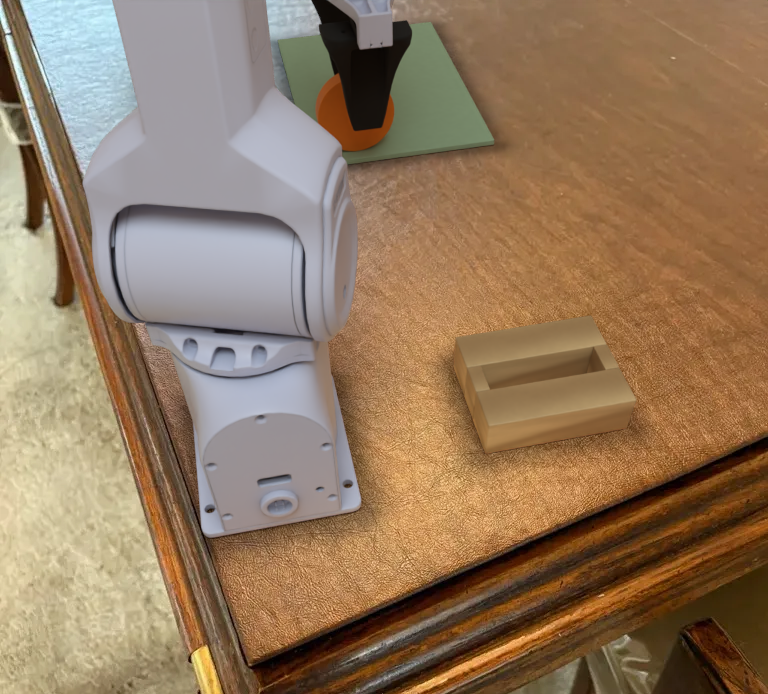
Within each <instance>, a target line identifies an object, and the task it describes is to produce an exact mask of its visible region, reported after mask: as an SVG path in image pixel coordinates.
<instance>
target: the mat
mask: <svg viewBox="0 0 768 694" xmlns="http://www.w3.org/2000/svg"><path fill="white" fill-rule="evenodd" d="M409 25H410V27H411V29H412V39H411V43H410V46H409V47H408V49H407V50H406V52H405V54H404V55H403V57H402V59H401V61H400V63H399V66H398V68H397V71H396V73H395V76H394V79H393V83H392V87H391V91H390V95H391V97H392V100H393V103H394V118H393V122H392V125H391V127H390V129H389V131H388V133H387V134H386V135H385V136H384V138H383V139H382V140H381V141H379V142H378V143H377V144H375V145H374V146H372V147H370V148H367V149H364V150H360V151H346V150H342V157H343V158H344V159H345V161H346V162H347V165H354V164H355V165H356V164H360V163H369V162H375V161H383V160H390V159H391V160H392V159H399V158H406V157H414V156H420V155H428V154H435V153H443V152H449V151H450V152H451V151H458V150H465V149H473V148H478V147H487V146H494V145H495V139H494V137H493V134H492V132H491V131H490V129H489V128H488V125H487V123H486V122H485V120H484V118H483V116H482V114H481V112H480V111H479V109H478V106H477V105H476V103H475V101H474V99H473V98H472V95H471V93H470V91H469V90H468V88H467V86H466V85H465V83H464V81H463V78H462V77H461V75H460V73H459V72H458V69H457V68H456V66H455V64H454V62H453V60H452V58H451V57H450V55H449V53H448V52H447V50H446V47H445V45H444V43H443V42H442V39H441V38H440V36H439V34H438V33H437V30H436V29H435V27H434V25H433V23H432V22H431V21H426V22H418V23H409ZM277 45H278V48H279V53H280V56H281V60H282V63H283V67H284V71H285V75H286V79H287V82H288V83H287V84H288V87H289V90H290V93H291V98H292V101H293V104H294V105H296V106H297V107H298V108H299V109H301V110H302V111H303V112H304V113H306V114H307V115H308V116H309V117H311V118H312V119H313V120H314V121H316V122H317V123H318V121H317V118H316V110H315V108H316V101H317V97H318V94H319V92H320V90H321V89H322V87H323V86H324V84H325V83H326V82H327V81H328V80H329V79H330V78H332V77H333V76H335V75H334V72H333V69H332V65H331V61H330V57H329V53H328V51H327V49H326V47H325V45H324V43H323V41H322V38H321V35H320V34H315V35H306V36H299V37H298V36H297V37H288V38H281V39H277Z"/></svg>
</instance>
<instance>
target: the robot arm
mask: <svg viewBox="0 0 768 694" xmlns="http://www.w3.org/2000/svg"><path fill="white" fill-rule="evenodd" d="M111 1H112V6H113V10H114V13H115V18H116V22H117V26H118V30H119V34H120V38H121V43H122V47H123V50H124V55H125V59H126V63H127V67H128V72H129V75H130V79H131V83H132V87H133V91H134V96H135V99H136V104H137V107H135V108H133V110H131V112H129V113H128V114H127V115H126V116H125V117H124V118H122V119H121V120H120V121H119V122H118V123H117V124H116V125H115V126H114V127H112V128H111V130H110V131H108V133H107V134H106V135H105V136H104V137H102V139H101V140H100V141H99V144H98V145H97V147H96V148H95V149H94V151H93V153H92V156H91V157H90V160H89V163H88V165H87V168H86V170H85V171H86V172H85V173H84V174H85V175H84V177H83V179H82V187H83V190H84V195H85V198H86V202H87V207H88V212H89V218H90V225H91V233H92V234H91V252H92V253H91V255H92V264H93V268H94V275H95V278H96V282H97V285H98V288H99V290H100V292H101V294H102V296H103V297H104V299H105V300H106V302H107V304H108V306H109V307H110V309H111V311H112V312H113V313H114V315H115V316H117V318H118V319H120V320H122V321H124V322H125V323H130V324H144V325H145V328H146V331H147V335H148V338H149V340H150V343H151V345H152V346H155V347H161V348H163V349H166V350H168V351H169V353H170V356H171V359H172V362H173V365H174V369H175V371H176V374H177V378H178V380H179V383H180V387H181V389H182V392H183V395H184V399H185V402H186V405H187V408H188V411H189V414H190V417H191V421H192V428H193V440H194V441H193V442H194V452H195V453H194V454H195V465H196V479H197V490H198V502H199V515H200V527H201V531H202V533H203V535H204V536H205V537H207V538H209V539H210V538H218V537H223V536H229V535H234V534H235V535H236V534H241V533H247V532H252V531H256V530H262V529H266V528H272V527H279V526H282V525H289V524H294V523H299V522H305V521H310V520H316V519H320V518H326V517H332V516H338V515H342V514H348V513H354V512H356V511H358V510H359V509H360V508H361V507H362V496H361V491H360V488H359V484H358V479H357V475H356V470H355V466H354V461H353V457H352V453H351V449H350V444H349V441H348V436H347V432H346V427H345V423H344V419H343V415H342V410H341V406H340V401H339V398H338V394H337V389H336V388H337V387H336V384H335V379H334V376H333V375H332V367H331V358H330V357H331V356H330V347H329V342H331V341H332V340H333V339H335V337H336V336H337V335H338V334H339V333H340V332H341V331H342V330H343V329H345V327H346V325H347V323H348V321H349V318H350V314H351V310H352V306H353V300H354V296H355V289H356V288H355V287H356V282H357V271H358V255H359V229H358V227H359V225H358V218H357V210H356V207H355V204H354V202H353V201H352V198H351V190H350V182H349V172H348V171H349V169H348V164H347V162H346V161H345V159H344V158H343V157H342V146H341V144H340V143H339V141H338V140H337V139H336V138H335V137H333V136H332V135H331V134H330V133H329V132H328V131H326V130H325V129H324V128H323V127H322V126H321V125H319V124H318V123H317V122H316V121H314V120H313V119H312V118H311V117H309V116H308V115H307V114H306V113H304V112H303V111H302V110H301V109H299V108H298V107H297V106H296V105H294V102H292V101H291V100H290V99H289V98H287V96H286V95H284V94H283V92H281V91H280V90H279V89H278V88H277V86H276V80H275V70H274V62H273V51H272V43H271V33H270V25H269V17H268V15H269V14H268V7H267V0H111ZM310 1H311V3H312V5H313V7H314V9H315V10H316V13H317V16H318V18H319V22H320V24H318V32H319V35H321V38H322V41H323V43H324V45H325V47H326V49H327V51H328V53H329V57H330V61H331V65H332V69H333V72H334V75H336V74H338V73H339V76H340V80H341V84H342V89H343V94H344V99H345V104H346V108H347V112H348V116H349V119H350V122H351V125H352V127H353V130H354V131H361V130H369V129H377V128H381V127H382V126H383V123H384V119H385V115H386V111H387V106H388V101H389V96H390V91H391V87H392V83H393V79H394V76H395V73H396V71H397V68H398V66H399V63H400V61H401V59H402V57H403V55H404V54H405V52H406V50H407V49H408V47H409V46H410V43H411V39H412V29H411V27H410V25H409V24H410V23H409V21H408V20H407V19H406V20H405V19H404V20H396V21H393V11H392V7H393V5H394V0H310ZM346 485H350V487H345V486H346ZM209 510H213V511H212V512H208V511H209Z"/></svg>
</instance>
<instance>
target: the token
mask: <svg viewBox="0 0 768 694" xmlns="http://www.w3.org/2000/svg"><path fill="white" fill-rule="evenodd" d="M315 110H316V118H317V121H318V124H319V125H321V126H322V127H323V128H324V129H325V130H326V131H328V132H329V133H330V134H331V135H332V136H333V137H335V138H336V139H337V140H338V141H339V143H340V144H341V146H342V150H346V151H360V150H364V149H367V148H370V147H372V146H374V145H375V144H377V143H378V142H379V141H381V140H382V139H383V138H384V136H385V135H386V134H387V133H388V131H389V129H390V127H391V125H392V122H393V118H394V103H393V100H392V97H391V95H390V96H389V101H388V106H387V111H386V115H385V119H384V123H383V126H382V127H381V128H377V129H369V130H361V131H354V130H353V127H352V125H351V122H350V119H349V116H348V112H347V108H346V104H345V99H344V94H343V89H342V84H341V80H340V76H339V73H338V74H336V75H335V76H333V77H332V78H330V79H329V80H328V81H327V82H326V83H325V84H324V86H323V87H322V89H321V90H320V92H319V94H318V97H317V101H316V108H315Z"/></svg>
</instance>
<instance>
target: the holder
mask: <svg viewBox="0 0 768 694" xmlns="http://www.w3.org/2000/svg"><path fill="white" fill-rule="evenodd" d="M454 339H455V340H454V355H453V366H452V367H453V370H454V372H455V375H456V378H457V380H458V384H459V387H460V388H461V392H462V395H463V397H464V400H465V402H466V405H467V408H468V411H469V413H470V417H471V419H472V421H473V424H474V428H475V430H476V432H477V433H476V434H477V435H478V438H479V441H480V444H481V446H482V449H483V452H484V454H486V455H488V454H492V453H497V452H503V451H510V450H514V449H520V448H526V447H531V446H537V445H543V444H547V443H553V442H560V441H565V440H570V439H575V438H582V437H587V436H592V435H598V434H604V433H608V432H615V431H620V430H625V429H628V425H629V423H630V420H631V417H632V415H633V411H634V409H635V406H636V403H637V397H636V395H635V394H634V392H633V390H632V388H631V386H630V384H629V383H628V380H627V379H626V377H625V376H624V374H623V372H622V370H621V368H620V365H619V363H618V362H617V360H616V358H615V356H614V355H613V353H612V351H611V349H610V347H609V345H608V344H607V341H606V340H605V338H604V336H603V335H602V333H601V331H600V329H599V327H598V325H597V324H596V322H595V320H594V318H593V316H592V315H591V314H590V315H584V316H578V317H572V318H565V319H560V320H554V321H547V322H541V323H534V324H528V325H522V326H515V327H510V328H503V329H498V330H492V331H485V332H479V333H473V334H466V335H461V336H460V335H459V336H456V337H455V338H454Z"/></svg>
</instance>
